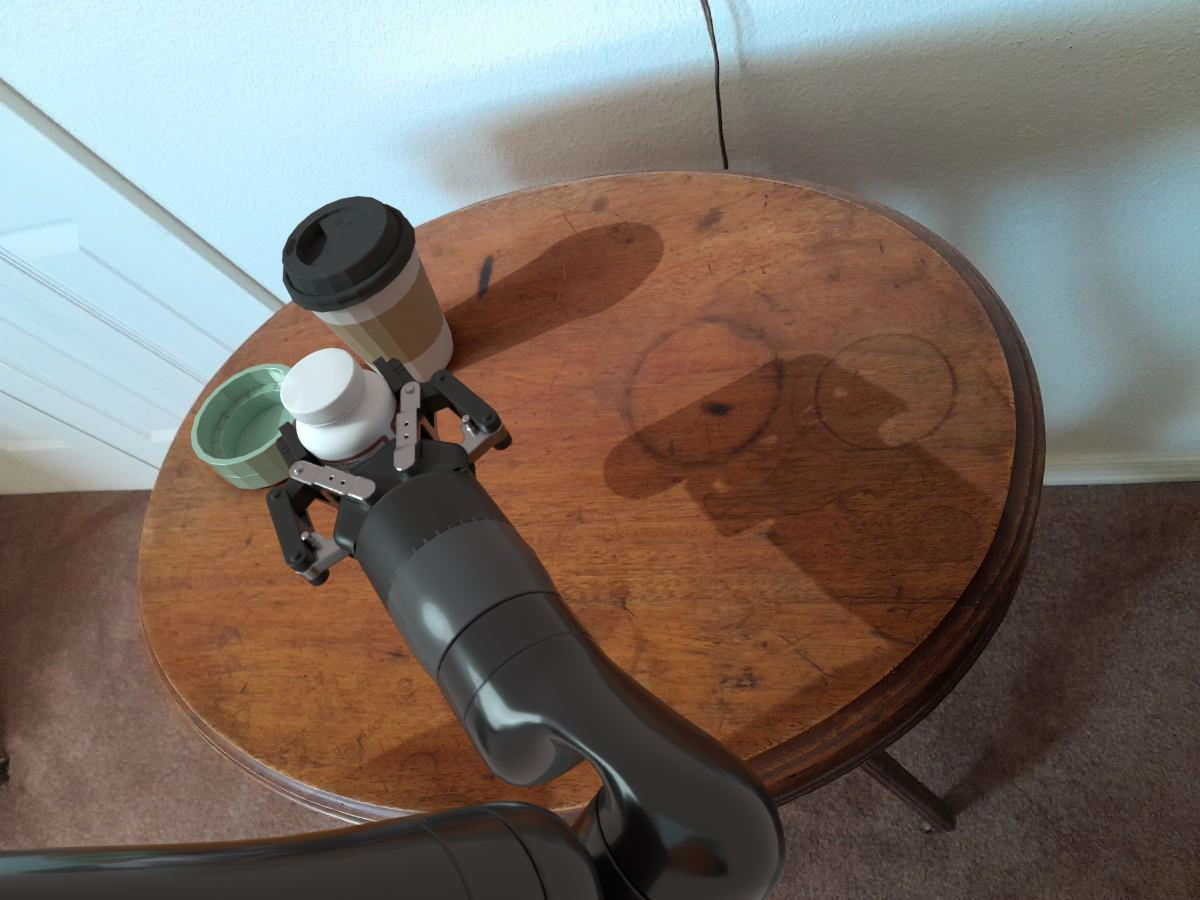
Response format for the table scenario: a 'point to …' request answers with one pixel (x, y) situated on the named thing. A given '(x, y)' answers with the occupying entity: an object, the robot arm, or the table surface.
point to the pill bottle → (339, 408)
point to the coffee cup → (368, 284)
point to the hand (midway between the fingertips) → (337, 400)
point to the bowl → (244, 428)
